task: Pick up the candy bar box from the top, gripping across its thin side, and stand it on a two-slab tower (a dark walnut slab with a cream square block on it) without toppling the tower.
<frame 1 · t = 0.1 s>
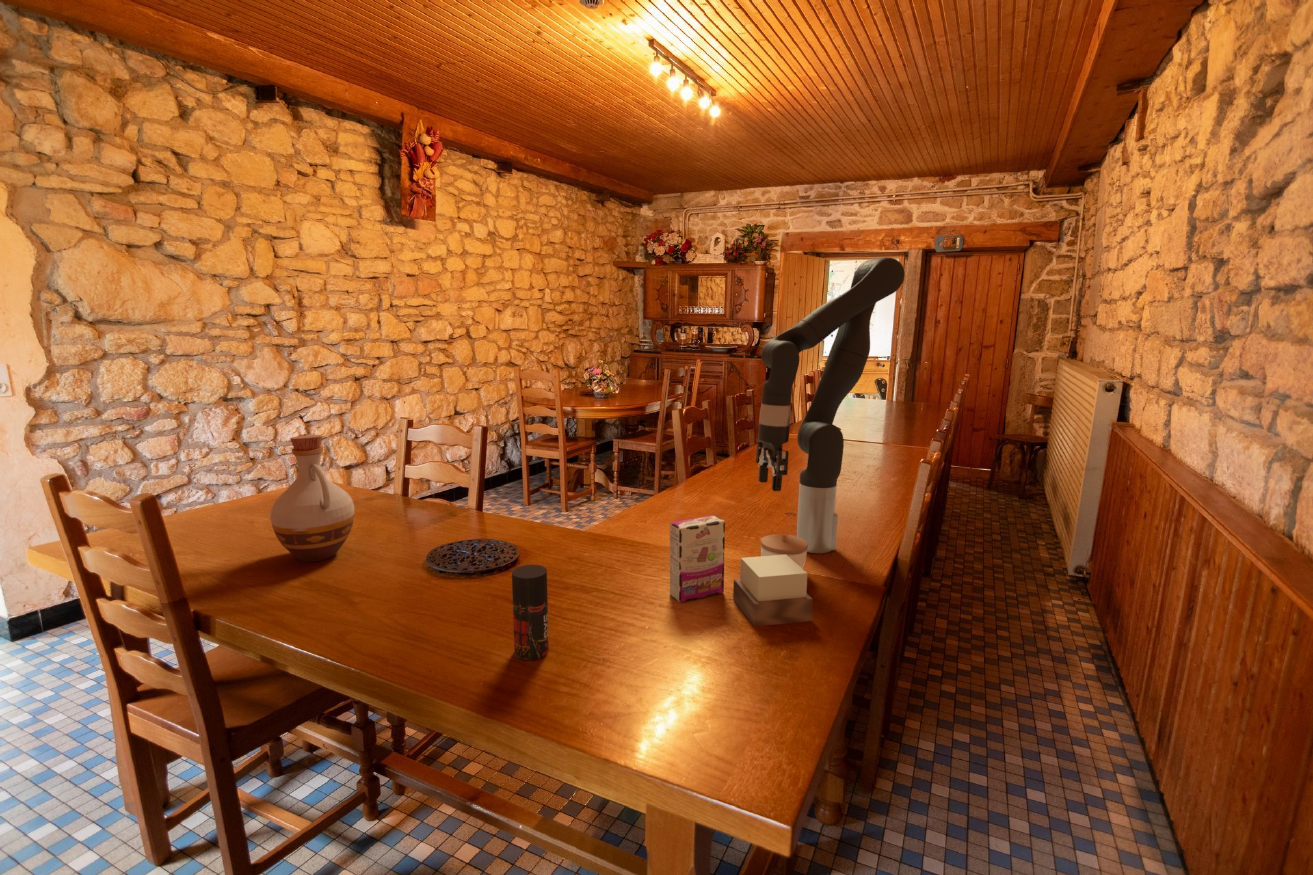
hand: (769, 486, 154), 17 cm above the table, tool pointing down, fingers open, 8 cm apart
lidded jar: (782, 573, 144), on the table
walnut slab: (770, 611, 125), on the table, touching cream square block
cream square block: (772, 588, 124), point 5 cm above the table, touching walnut slab
jug: (319, 557, 150), on the table
candy bar box: (696, 594, 132), on the table
deodorant: (531, 652, 108), on the table
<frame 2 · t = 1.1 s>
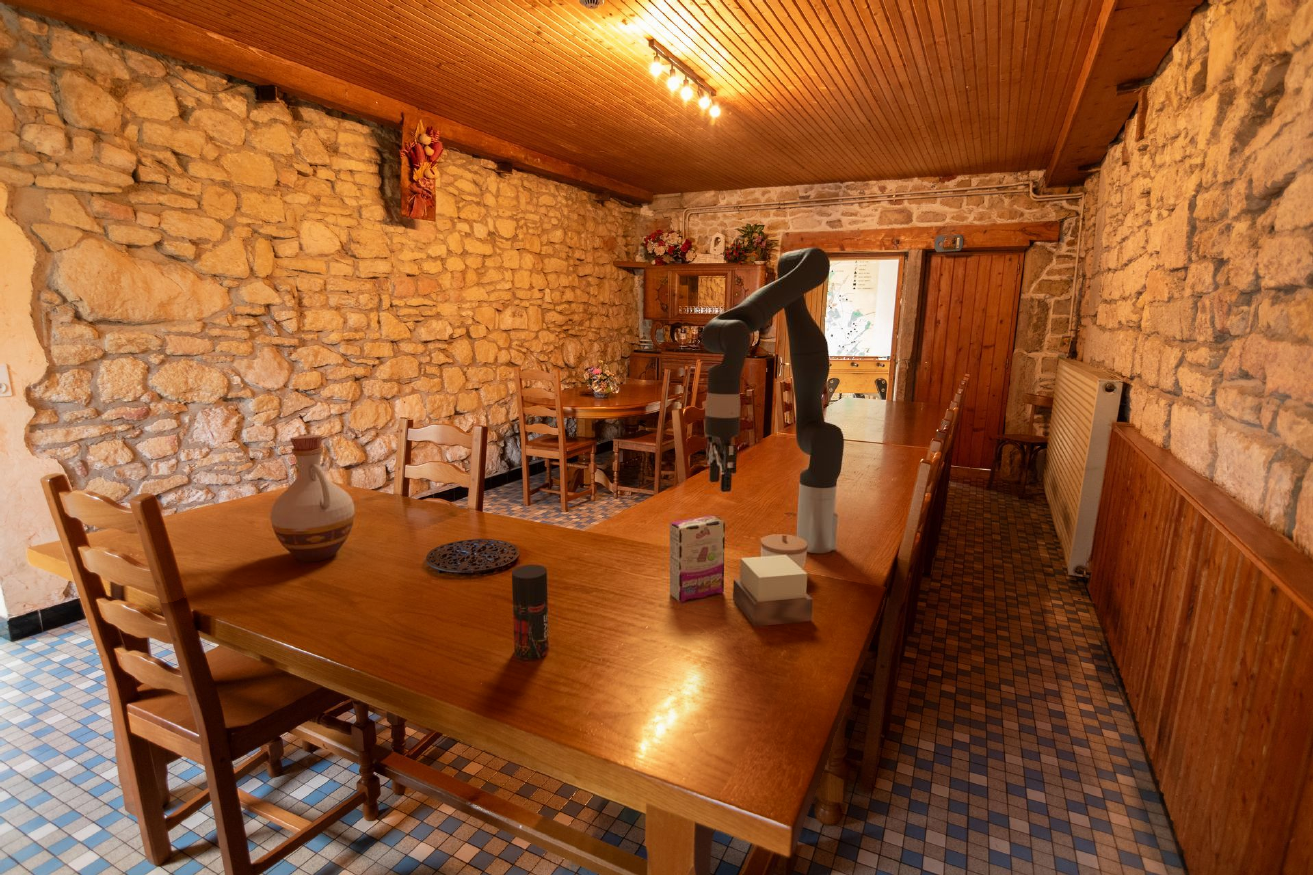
hand: (719, 486, 136), 22 cm above the table, tool pointing down, fingers open, 8 cm apart
nothing on the table moved.
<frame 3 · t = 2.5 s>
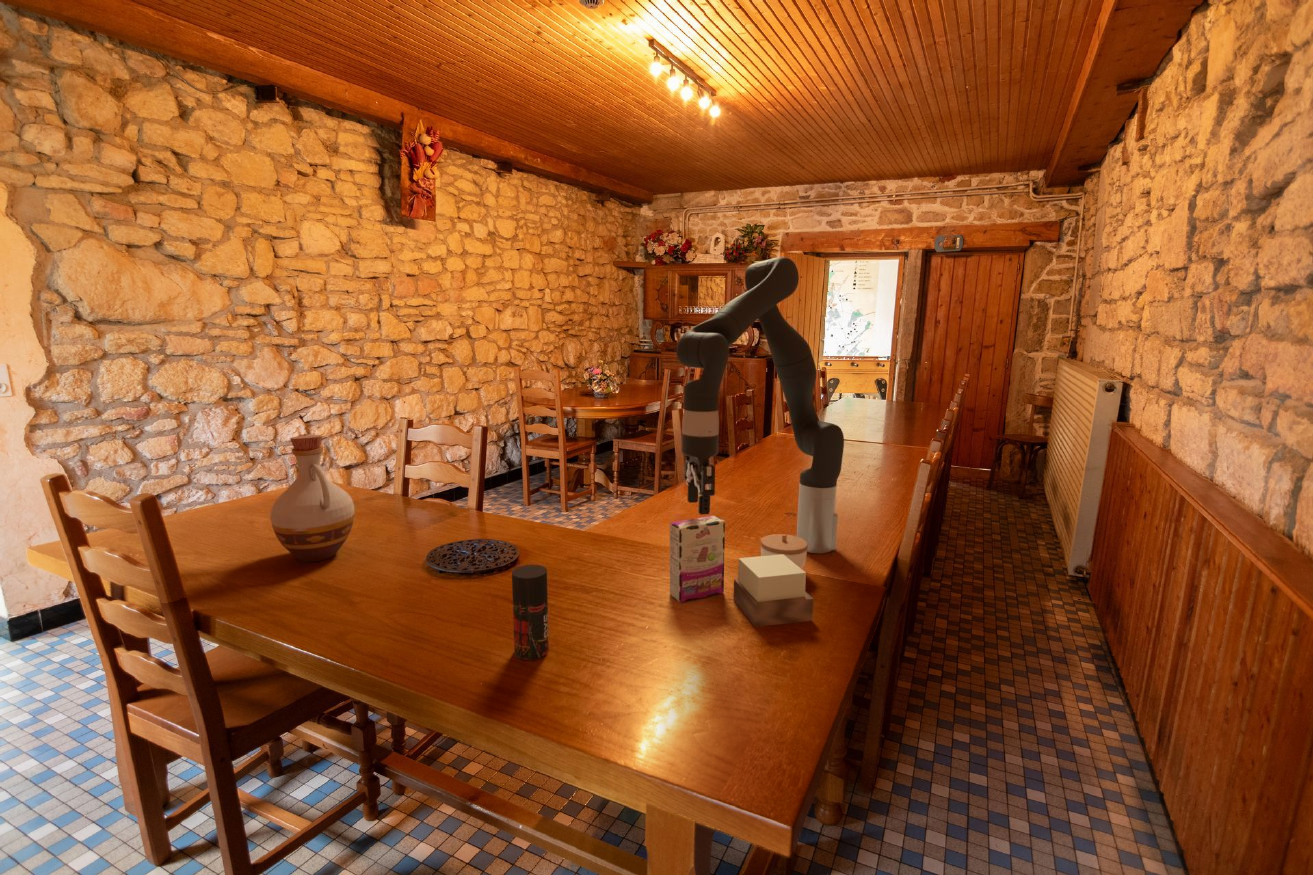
hand: (698, 507, 128), 19 cm above the table, tool pointing down, fingers open, 8 cm apart
nothing on the table moved.
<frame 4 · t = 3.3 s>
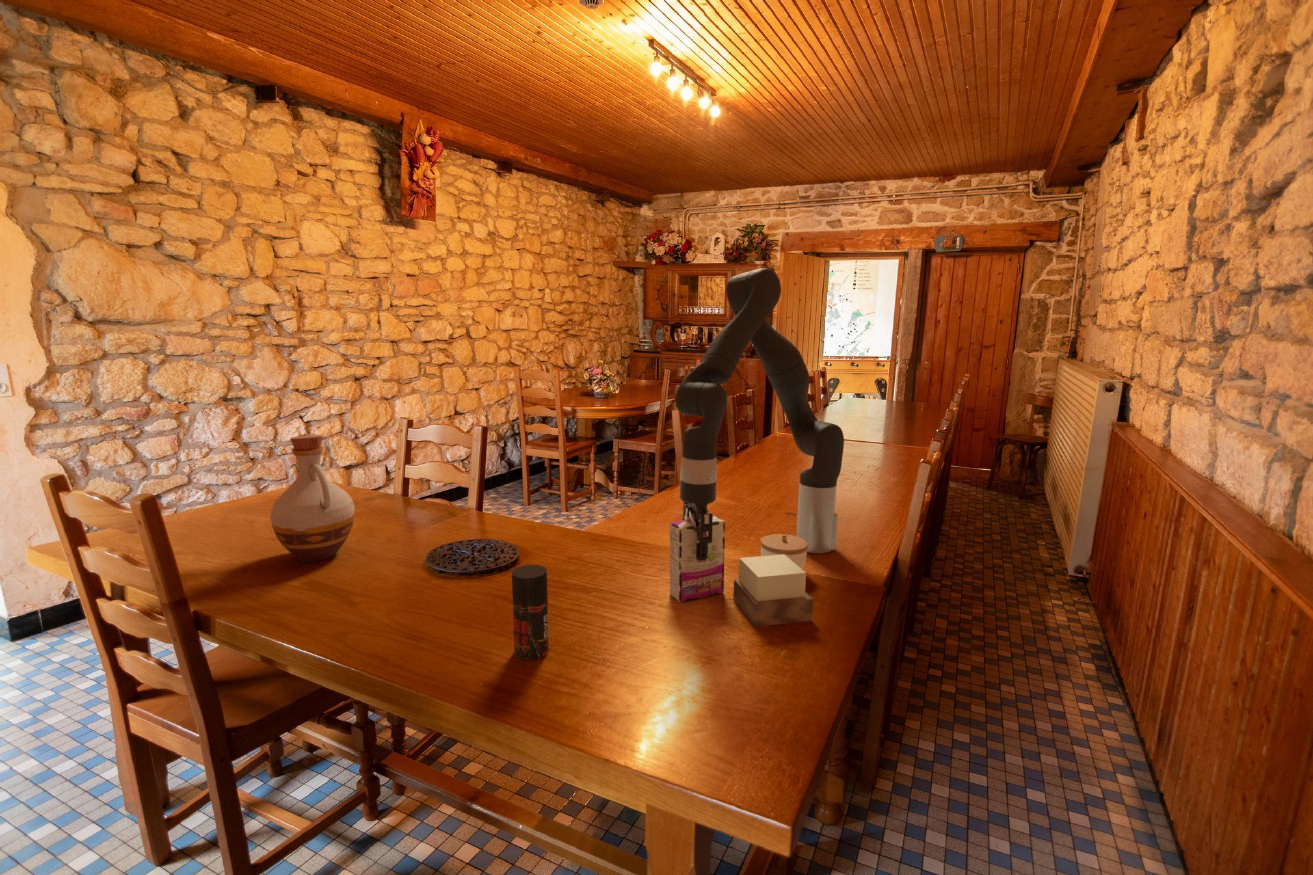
hand: (695, 552, 130), 9 cm above the table, tool pointing down, fingers open, 8 cm apart
walnut slab: (771, 611, 125), on the table
cream square block: (770, 588, 124), point 5 cm above the table
everything else where it was.
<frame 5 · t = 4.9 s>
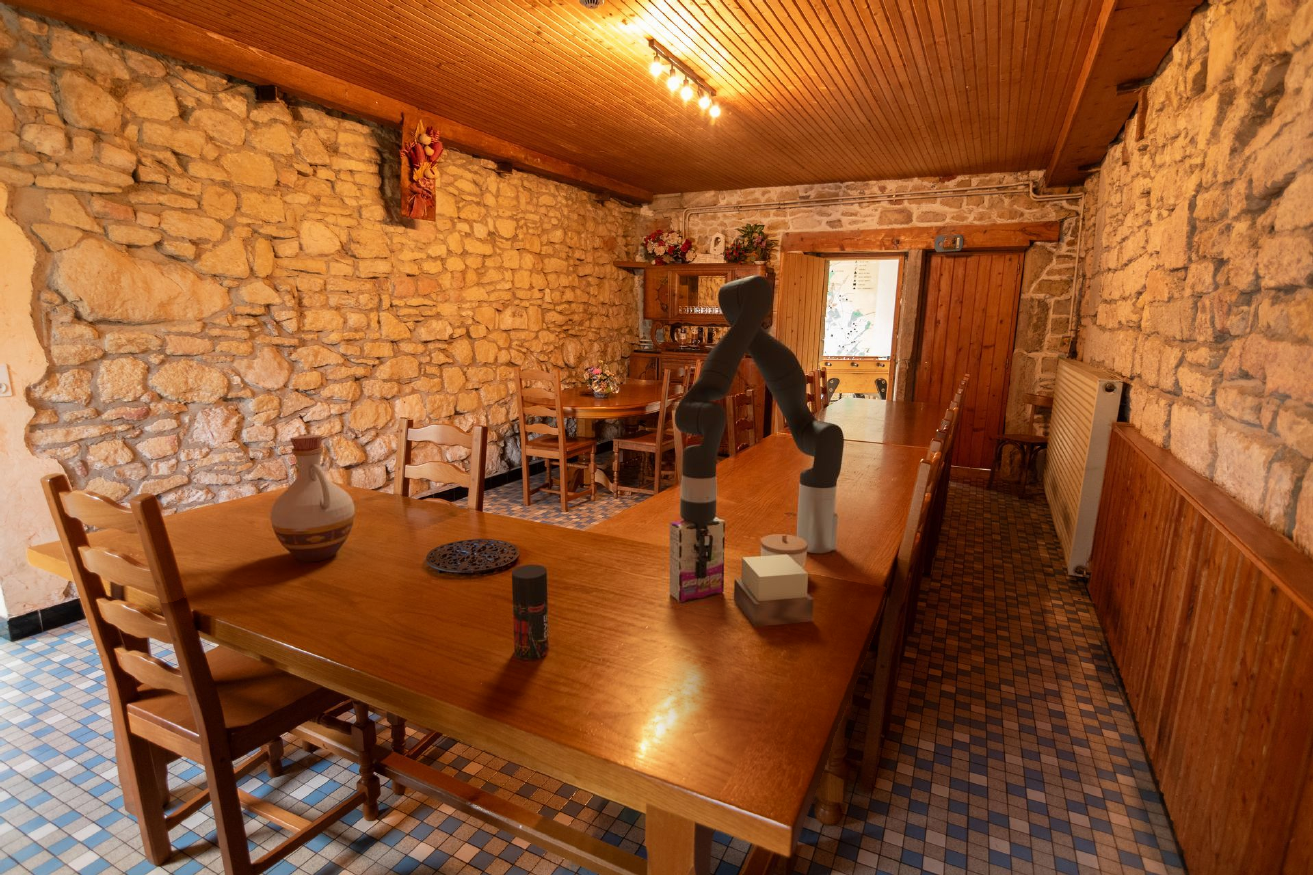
hand: (696, 571, 131), 5 cm above the table, tool pointing down, fingers closed on candy bar box, 5 cm apart
candy bar box: (696, 594, 132), on the table, touching gripper
everything else where it was.
when the fingers open (16 cm above the table, at t = 10.9 s): candy bar box drops 1 cm, resting on cream square block.
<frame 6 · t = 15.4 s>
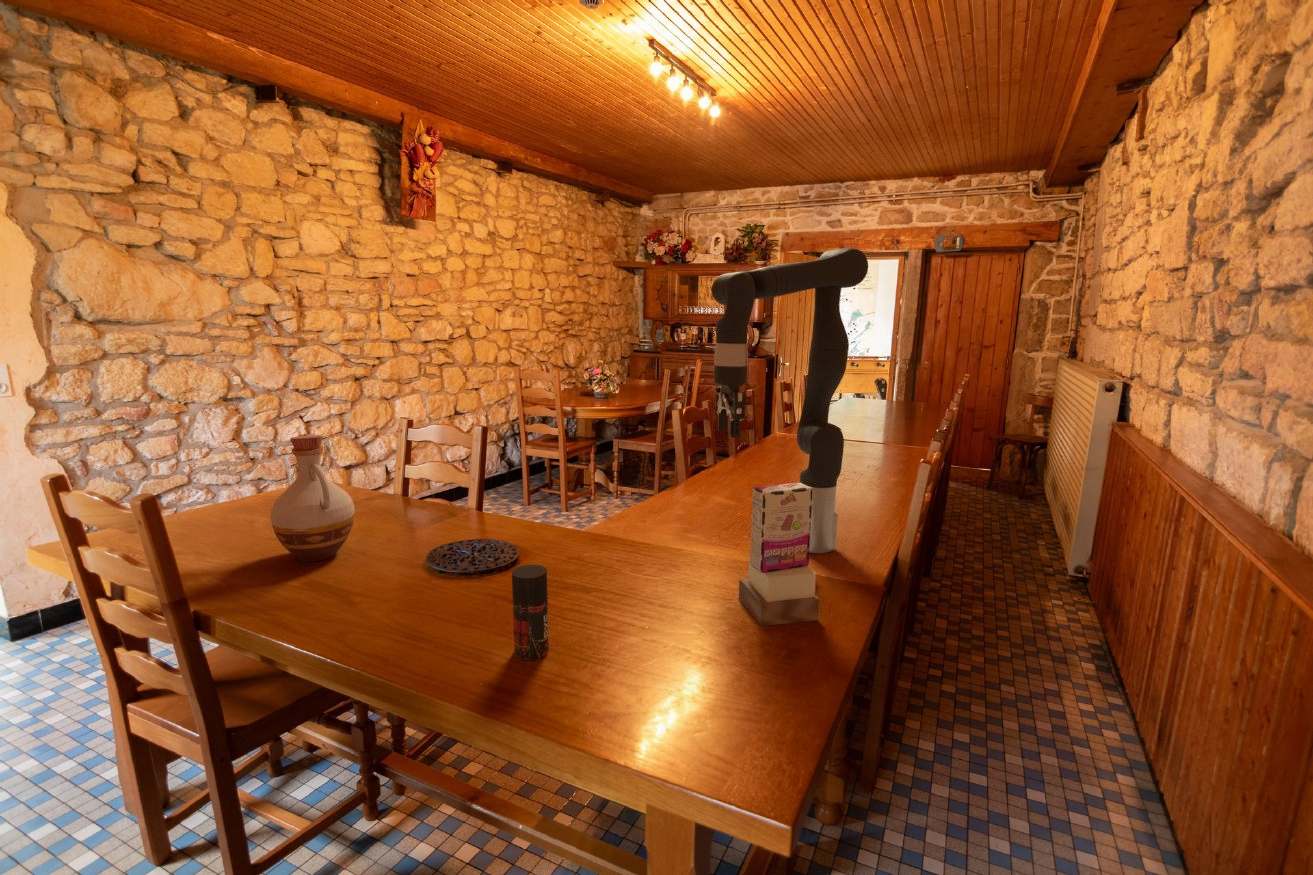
hand: (728, 434, 142), 32 cm above the table, tool pointing down, fingers open, 8 cm apart
walnut slab: (776, 611, 125), on the table, touching cream square block
cream square block: (780, 588, 124), point 4 cm above the table, touching candy bar box, walnut slab
candy bar box: (778, 566, 123), point 9 cm above the table, touching cream square block
everything else where it was.
at the end: candy bar box inside the target area on the cream square block (0.6 cm from its centre), point 4.8 cm above the cream square block's base; candy bar box tilted 1°; walnut slab moved 1.4 cm from its start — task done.
